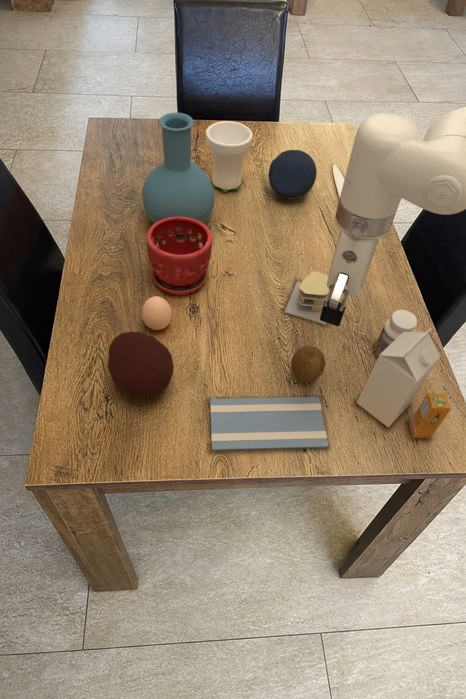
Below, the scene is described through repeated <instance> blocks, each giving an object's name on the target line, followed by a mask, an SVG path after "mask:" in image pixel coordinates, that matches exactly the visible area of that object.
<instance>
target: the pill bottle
mask: <svg viewBox="0 0 466 699" xmlns="http://www.w3.org/2000/svg"><path fill="white" fill-rule="evenodd" d="M417 325H418V319H417V317H416V315H415V314H413V313H412V312H411V311H409V310H406V309H397V310H395V311H393V312H392V314H391V315H390V318H389V319H387V320H386V321H385V323H384V325H383V327H382V330H381V332H380V334H379V335H378V338H377V340H376V343H375V346H374V350H375V353H376V354H377V356H378V357H379V355H380V354H381V353H382V352H383V351H384V350H385V349H386V348H387V347H388V346H389V345H390V344H391V343H392V342H393V341H394V340H395V339H397V338H398V337H399V336H400V335H401V334H402V333H403V332H416V326H417Z"/></svg>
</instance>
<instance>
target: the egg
mask: <svg viewBox="0 0 466 699" xmlns="http://www.w3.org/2000/svg"><path fill="white" fill-rule="evenodd" d="M141 317H142V321H143V323H144V324H145V326H147V327H148V328H149V329H151V330H155V331H160V330H163V329H166V328H167V327H168V325H169V324H170V323H171V321H172V317H173V311H172V308H171V304H170V303H169V302H168V301H167V300H166V299H165V298H163V297H162V296H158V295H155V296H151V297H150V298H148V299H146V301H145V302H144V303H143V305H142V309H141Z"/></svg>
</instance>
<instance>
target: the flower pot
mask: <svg viewBox="0 0 466 699" xmlns="http://www.w3.org/2000/svg"><path fill="white" fill-rule="evenodd" d="M178 226H179V227H181V228H180V229H177V228H176V227H178ZM189 229H190V230H192V232H189V231H188V230H189ZM170 230H171V231H173V232H172V234H171V233H168V231H170ZM179 233H182V234H183V236H185V239H184V240H179V239H178V238H177V236H178V235H177V234H179ZM199 235H200V237H199ZM191 237H193V238H194V240H192V239H191ZM152 239H153V240H152ZM164 241H165V242H164ZM200 243H201V245H200ZM146 250H147V256H148V261H149V264H150V266H151V268H152V274H151V275H152V279H153V281H154V283H155V285H156V286H157V287H158V288H159V289H160V290H161V291H164V292H165V293H167V294H172V295H189V294H192V293H195V292H196V291H198V290H199V289H200V288H202V286H204V284H205V282H206V281H207V278H208V277H207V275H208V273H207V272H208V271H207V270H208V267H209V264H210V261H211V256H212V250H213V234H212V231H211V230H210V229H209V227H208V226H207V225H206V224H203V223H201V222H200V221H197V220H195V219H192V218H188V217H169V218H165V219H162V220H160V221H158V222H156V223H155V224H154V223H153V224H152V225H151V226H150V227H149V228H148V231H147V232H146Z"/></svg>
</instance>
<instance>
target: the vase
mask: <svg viewBox="0 0 466 699" xmlns="http://www.w3.org/2000/svg"><path fill="white" fill-rule="evenodd" d="M194 121H195V120H194V119H193V118H192V117H191V116H190V115H189V114H186V113H183V112H169V113H165V114H164V115H162V116H160V118H159V119H158V123H159V126H160V127H161V136H162V137H161V139H162V148H163V149H162V150H163V159H164V161H163V162H161V163H160V164H159V165H157V166H155V167H154V168H153V169H151V171H150V172H149V174H148V176H147V177H146V179H145V181H144V182H143V185H142V188H141V199H142V203H143V207H144V212H145V214H146V216H147V217H148V219H150V220H151V222H152V223H153V224H155V223H156V222H158V221H160V220H162V219H165V218H169V217H188V218H192V219H195V220H197V221H200V222H201V223H203V224H204V225H206V223H207V222H208V221H209V219H210V218H211V215H212V213H213V209H214V207H215V202H216V195H215V193H216V192H215V190H214V186H213V183H212V180H211V179H210V177H209V176H208V174H207V173H206V171H204V170H203V169H202V168H201V167H200V166H199V165H198V164H196V163H195V162H192V161H191V160H192V159H191V158H192V127H193V125H194V123H195V122H194ZM176 228H177V229H180V228H181V227H179V226H178V227H176ZM188 231H189V232H192V230H190V229H189V230H188ZM172 232H173V231H171V230H170V231H168V233H167V234H172ZM181 235H183V236H184V234H182V233H179V234H177V235H176V236H181Z"/></svg>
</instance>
